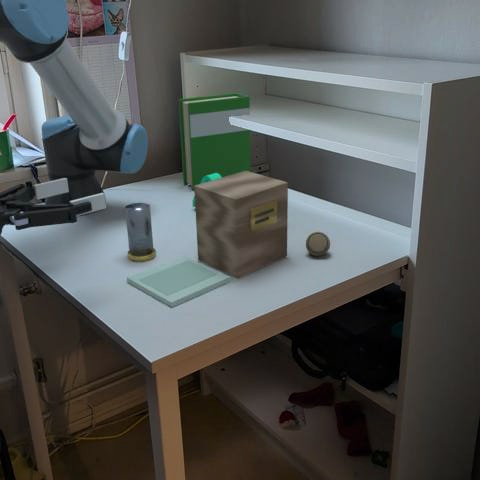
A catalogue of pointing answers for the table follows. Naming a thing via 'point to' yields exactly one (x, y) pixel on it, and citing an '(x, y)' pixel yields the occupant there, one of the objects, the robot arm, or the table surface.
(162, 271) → the pad
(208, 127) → the hardback book
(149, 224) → the grey glass cylinder
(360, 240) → the table surface
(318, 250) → the door knob
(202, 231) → the block
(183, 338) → the table surface
